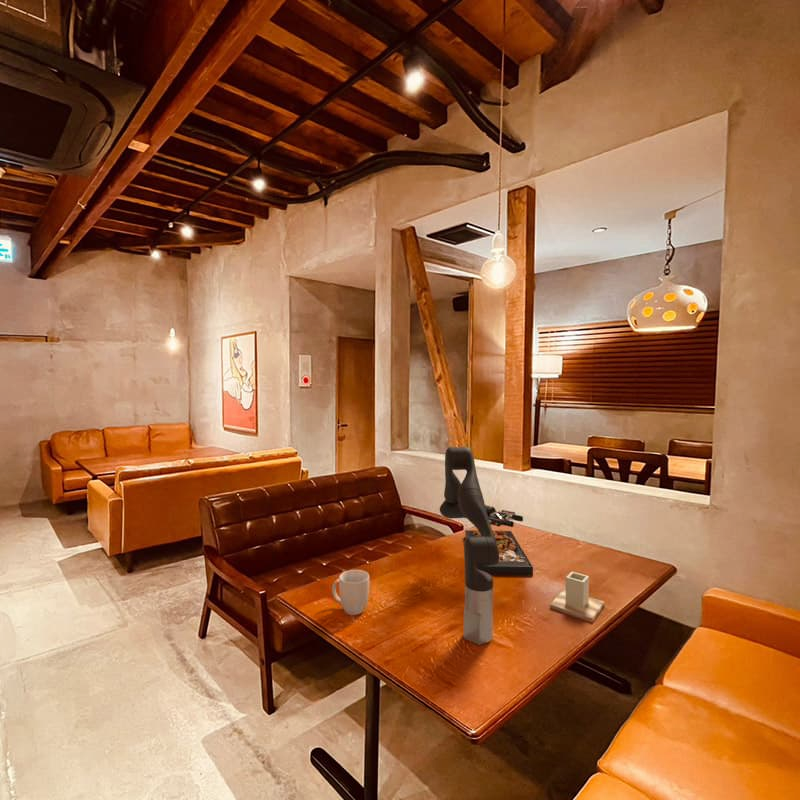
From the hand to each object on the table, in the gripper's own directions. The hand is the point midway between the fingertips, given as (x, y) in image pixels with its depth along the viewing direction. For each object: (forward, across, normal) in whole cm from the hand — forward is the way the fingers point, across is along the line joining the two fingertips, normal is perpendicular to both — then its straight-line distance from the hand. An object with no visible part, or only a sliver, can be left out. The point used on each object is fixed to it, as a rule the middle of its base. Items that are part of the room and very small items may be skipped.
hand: (518, 521), depth 175 cm
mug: (-40, -54, +28) cm, 73 cm away
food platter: (-24, +27, +29) cm, 46 cm away
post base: (+23, +2, +28) cm, 36 cm away
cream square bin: (+23, +2, +26) cm, 35 cm away
